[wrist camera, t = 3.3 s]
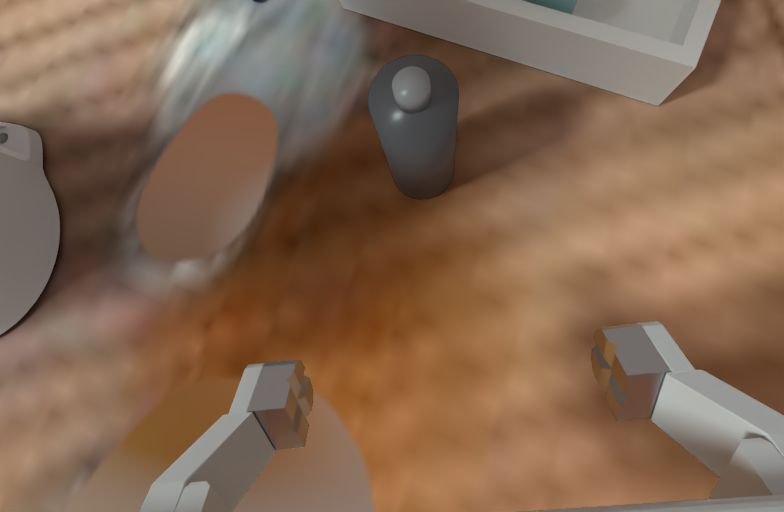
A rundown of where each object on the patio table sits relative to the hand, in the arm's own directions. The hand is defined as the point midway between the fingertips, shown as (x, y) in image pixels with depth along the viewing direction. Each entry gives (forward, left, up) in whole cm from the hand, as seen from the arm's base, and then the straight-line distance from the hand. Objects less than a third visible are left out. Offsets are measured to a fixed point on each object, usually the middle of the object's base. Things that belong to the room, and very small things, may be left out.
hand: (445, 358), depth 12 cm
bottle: (-5, +9, -14) cm, 18 cm away
